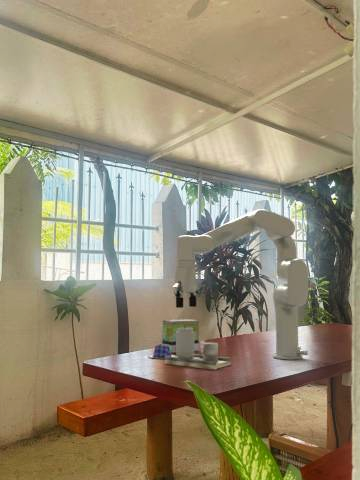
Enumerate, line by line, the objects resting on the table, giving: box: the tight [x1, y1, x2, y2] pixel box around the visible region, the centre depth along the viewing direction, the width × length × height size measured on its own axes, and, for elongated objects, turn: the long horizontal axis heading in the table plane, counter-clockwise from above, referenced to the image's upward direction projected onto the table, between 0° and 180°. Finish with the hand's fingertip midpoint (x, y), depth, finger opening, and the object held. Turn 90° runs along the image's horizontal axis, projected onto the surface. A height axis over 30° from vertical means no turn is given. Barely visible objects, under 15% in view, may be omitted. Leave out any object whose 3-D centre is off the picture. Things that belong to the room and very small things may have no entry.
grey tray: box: [164, 342, 231, 370], centre depth 177 cm, size 23×12×8 cm, turn 56°
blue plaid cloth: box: [148, 344, 176, 360], centre depth 195 cm, size 12×12×5 cm
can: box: [175, 328, 195, 359], centre depth 181 cm, size 8×8×12 cm
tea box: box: [161, 318, 200, 354], centre depth 215 cm, size 15×10×15 cm
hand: (186, 307), depth 183 cm, fingers open, 9 cm apart
